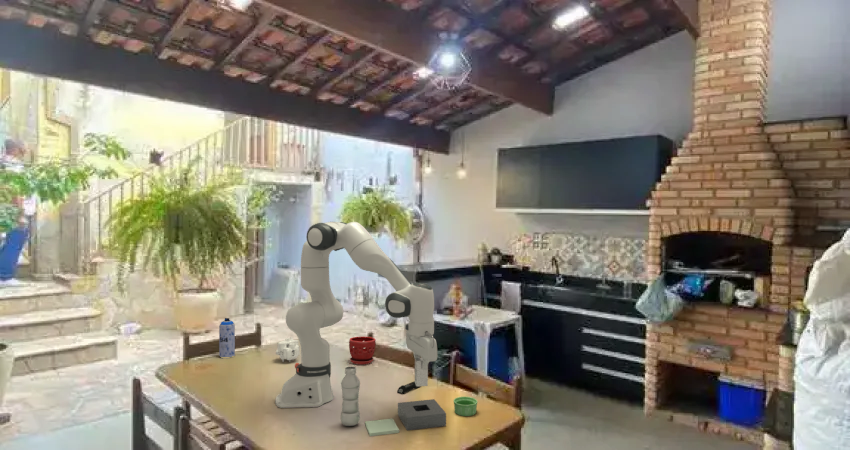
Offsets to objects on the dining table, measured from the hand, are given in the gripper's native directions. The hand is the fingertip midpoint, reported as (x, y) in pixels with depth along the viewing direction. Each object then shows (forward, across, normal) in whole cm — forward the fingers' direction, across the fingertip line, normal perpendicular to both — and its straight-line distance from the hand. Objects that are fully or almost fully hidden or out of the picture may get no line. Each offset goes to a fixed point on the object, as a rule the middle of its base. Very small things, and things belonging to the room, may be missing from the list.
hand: (421, 367), depth 180 cm
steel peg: (+6, 0, 0) cm, 6 cm away
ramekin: (+19, 0, -18) cm, 27 cm away
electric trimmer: (+20, +32, -9) cm, 39 cm away
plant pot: (+20, +77, -1) cm, 80 cm away
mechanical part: (+20, +94, +33) cm, 101 cm away
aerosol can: (+20, +115, +60) cm, 131 cm away
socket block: (+19, 0, 0) cm, 19 cm away
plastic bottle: (+20, +6, +24) cm, 32 cm away
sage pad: (+19, -1, +15) cm, 24 cm away
